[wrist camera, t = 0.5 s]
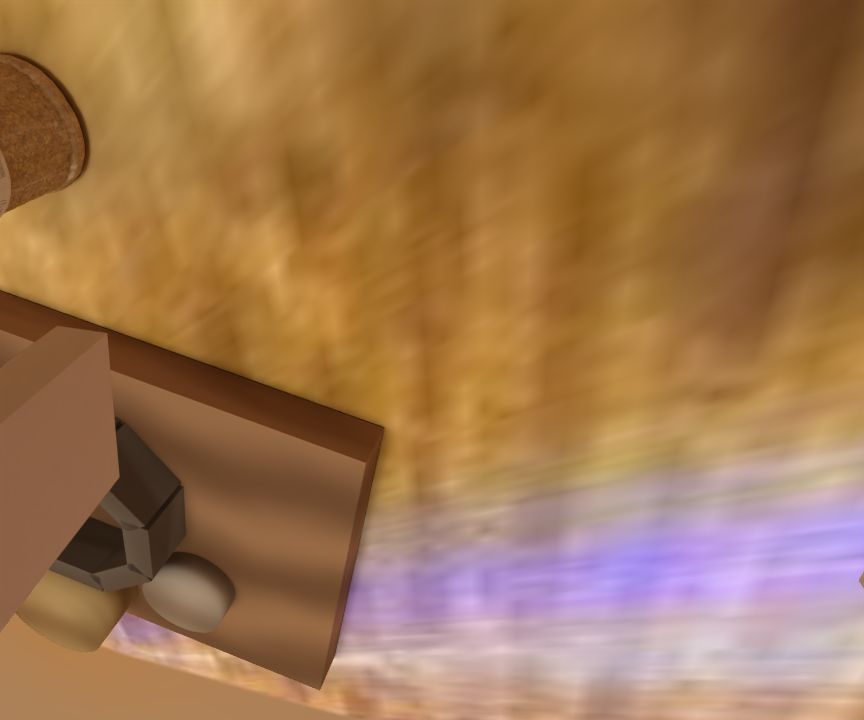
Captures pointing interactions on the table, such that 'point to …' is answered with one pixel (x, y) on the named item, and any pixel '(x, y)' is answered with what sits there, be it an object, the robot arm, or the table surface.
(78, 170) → the sprinkles bottle
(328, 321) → the table surface
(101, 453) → the robot arm
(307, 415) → the carrier board
